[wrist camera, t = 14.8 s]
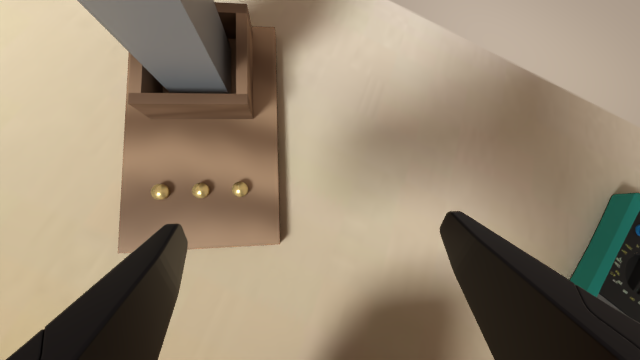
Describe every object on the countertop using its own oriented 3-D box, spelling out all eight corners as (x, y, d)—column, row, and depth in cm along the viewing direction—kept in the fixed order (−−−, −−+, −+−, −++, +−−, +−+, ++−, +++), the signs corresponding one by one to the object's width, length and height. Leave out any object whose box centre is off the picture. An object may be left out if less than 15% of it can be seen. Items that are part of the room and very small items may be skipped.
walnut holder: (280, 242, 22) (277, 249, 18) (126, 251, 20) (86, 260, 16) (275, 35, 24) (272, 0, 20) (137, 30, 23) (105, -9, 19)
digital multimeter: (665, 232, 26) (711, 234, 24) (604, 362, 24) (647, 382, 21) (608, 188, 26) (647, 185, 24) (542, 313, 24) (576, 327, 21)
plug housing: (231, 98, 22) (145, -67, 9) (174, 97, 21) (-1, -78, 9) (231, 48, 22) (150, -172, 10) (176, 47, 22) (14, -188, 9)
